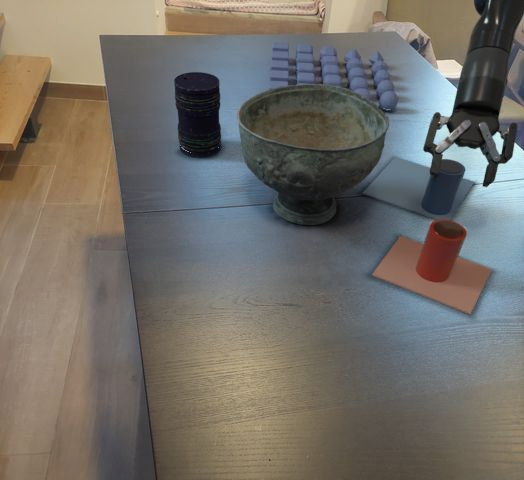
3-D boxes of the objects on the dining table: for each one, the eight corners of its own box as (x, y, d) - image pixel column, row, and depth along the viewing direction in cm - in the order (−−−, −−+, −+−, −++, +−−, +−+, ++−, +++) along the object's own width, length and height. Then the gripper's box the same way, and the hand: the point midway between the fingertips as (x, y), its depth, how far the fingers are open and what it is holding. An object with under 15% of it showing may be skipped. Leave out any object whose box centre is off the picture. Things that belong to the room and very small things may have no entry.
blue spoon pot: (454, 204, 108) (469, 164, 101) (445, 218, 104) (460, 177, 97) (426, 195, 110) (439, 155, 103) (416, 208, 106) (429, 168, 99)
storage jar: (228, 144, 122) (228, 77, 110) (208, 162, 116) (206, 94, 104) (192, 134, 124) (188, 68, 113) (171, 151, 118) (164, 83, 107)
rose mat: (491, 270, 94) (492, 269, 94) (469, 315, 86) (470, 313, 86) (400, 237, 100) (400, 235, 99) (371, 275, 92) (372, 274, 91)
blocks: (271, 58, 159) (272, 41, 156) (381, 65, 160) (385, 48, 156) (268, 107, 136) (269, 87, 132) (396, 115, 136) (401, 95, 133)
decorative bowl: (392, 200, 107) (412, 103, 92) (333, 264, 93) (346, 162, 78) (286, 165, 117) (289, 72, 102) (218, 218, 103) (210, 119, 88)
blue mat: (473, 183, 115) (474, 181, 114) (447, 223, 103) (448, 222, 103) (395, 158, 121) (395, 156, 120) (362, 194, 110) (362, 192, 109)
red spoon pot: (454, 268, 93) (471, 226, 87) (443, 287, 90) (461, 244, 83) (422, 256, 95) (436, 214, 89) (410, 274, 92) (424, 231, 85)
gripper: (517, 101, 89) (496, 194, 90) (434, 90, 90) (414, 181, 92) (534, 80, 81) (510, 182, 82) (443, 68, 83) (421, 168, 84)
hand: (460, 181), depth 87 cm, fingers open, 8 cm apart
